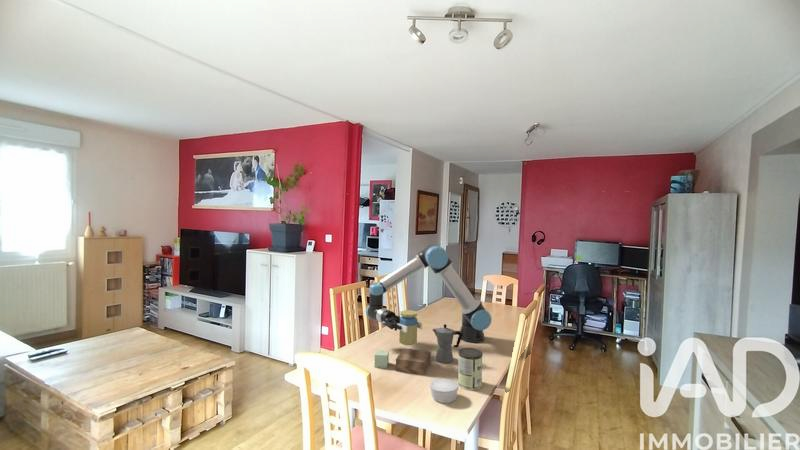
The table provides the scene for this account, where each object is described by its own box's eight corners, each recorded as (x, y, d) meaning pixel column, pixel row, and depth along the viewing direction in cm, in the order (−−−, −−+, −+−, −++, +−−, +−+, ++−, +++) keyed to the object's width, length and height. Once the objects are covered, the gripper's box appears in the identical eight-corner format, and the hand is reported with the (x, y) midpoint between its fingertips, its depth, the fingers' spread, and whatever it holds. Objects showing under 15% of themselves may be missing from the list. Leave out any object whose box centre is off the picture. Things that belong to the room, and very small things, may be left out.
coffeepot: (429, 361, 174) (429, 325, 173) (434, 354, 182) (435, 320, 182) (459, 366, 168) (460, 329, 168) (463, 359, 177) (464, 324, 177)
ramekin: (426, 401, 135) (426, 388, 135) (433, 388, 145) (434, 376, 145) (454, 407, 131) (454, 393, 131) (460, 394, 141) (460, 381, 141)
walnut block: (430, 363, 172) (430, 351, 172) (425, 375, 158) (425, 362, 158) (402, 360, 175) (403, 348, 175) (395, 371, 161) (396, 358, 161)
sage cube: (388, 362, 171) (388, 350, 171) (386, 368, 165) (387, 355, 165) (376, 362, 171) (376, 350, 171) (374, 367, 165) (374, 354, 165)
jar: (403, 347, 164) (403, 315, 164) (395, 340, 172) (396, 310, 172) (420, 344, 167) (421, 314, 167) (412, 338, 176) (413, 309, 176)
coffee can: (461, 377, 156) (461, 346, 156) (484, 382, 152) (484, 350, 152) (454, 387, 147) (455, 354, 147) (479, 392, 143) (479, 358, 142)
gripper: (402, 320, 191) (430, 331, 173) (369, 327, 177) (396, 340, 160) (402, 307, 191) (430, 316, 173) (369, 313, 177) (396, 324, 160)
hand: (414, 327), depth 166 cm, fingers closed on jar, 9 cm apart
